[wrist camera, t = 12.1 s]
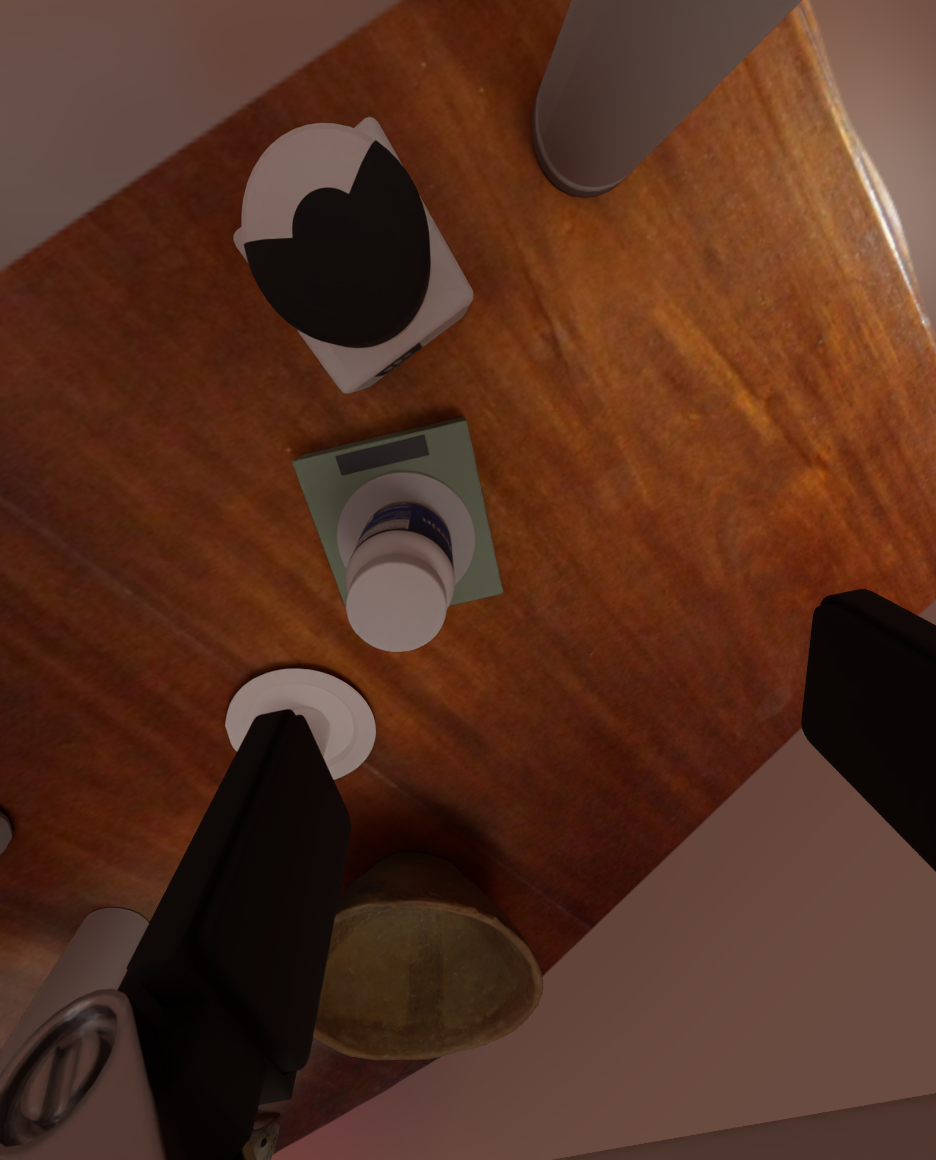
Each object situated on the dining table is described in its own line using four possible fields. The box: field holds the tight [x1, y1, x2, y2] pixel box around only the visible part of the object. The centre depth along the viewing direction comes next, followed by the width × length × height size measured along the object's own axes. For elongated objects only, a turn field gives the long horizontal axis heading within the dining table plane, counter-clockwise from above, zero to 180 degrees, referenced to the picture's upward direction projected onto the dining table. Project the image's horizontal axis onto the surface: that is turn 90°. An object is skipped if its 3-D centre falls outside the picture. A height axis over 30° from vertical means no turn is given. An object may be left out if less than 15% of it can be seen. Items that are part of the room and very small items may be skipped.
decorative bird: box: [250, 1115, 280, 1160], centre depth 63 cm, size 5×16×7 cm, turn 86°
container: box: [234, 117, 474, 394], centre depth 22 cm, size 8×8×13 cm
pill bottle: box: [345, 500, 455, 652], centre depth 27 cm, size 6×6×10 cm
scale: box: [292, 416, 503, 607], centre depth 32 cm, size 12×11×3 cm
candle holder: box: [225, 669, 376, 780], centre depth 38 cm, size 12×12×4 cm
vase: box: [0, 908, 149, 1073], centre depth 41 cm, size 11×7×20 cm, turn 38°
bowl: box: [313, 851, 543, 1060], centre depth 45 cm, size 22×23×10 cm
